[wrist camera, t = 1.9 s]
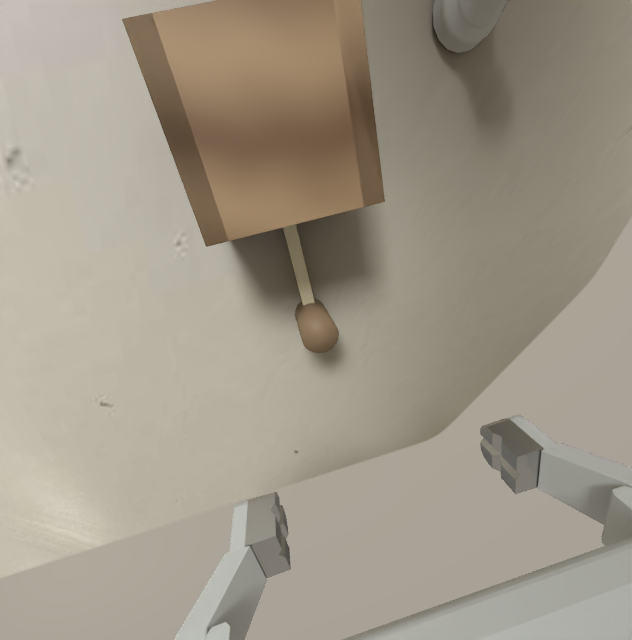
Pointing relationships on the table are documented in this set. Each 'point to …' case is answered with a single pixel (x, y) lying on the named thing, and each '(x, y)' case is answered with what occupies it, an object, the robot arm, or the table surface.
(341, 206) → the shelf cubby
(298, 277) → the block with stick handle
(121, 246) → the table surface
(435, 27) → the rook chess piece
